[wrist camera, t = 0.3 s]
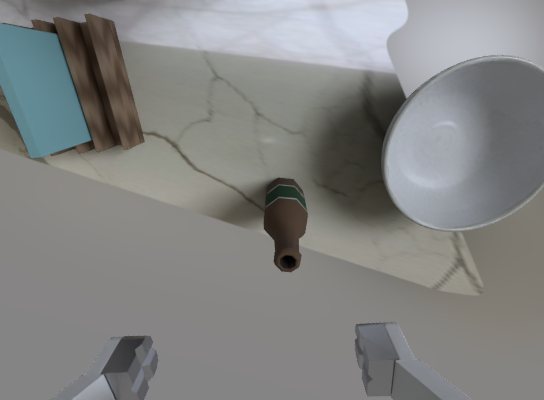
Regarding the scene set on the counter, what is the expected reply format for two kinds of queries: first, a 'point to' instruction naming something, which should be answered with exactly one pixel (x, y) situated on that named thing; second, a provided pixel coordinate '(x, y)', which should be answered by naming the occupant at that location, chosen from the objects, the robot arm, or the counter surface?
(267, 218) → the beer bottle
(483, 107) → the decorative bowl
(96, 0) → the counter surface
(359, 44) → the counter surface
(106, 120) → the rack
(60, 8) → the counter surface
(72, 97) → the tall sheet
